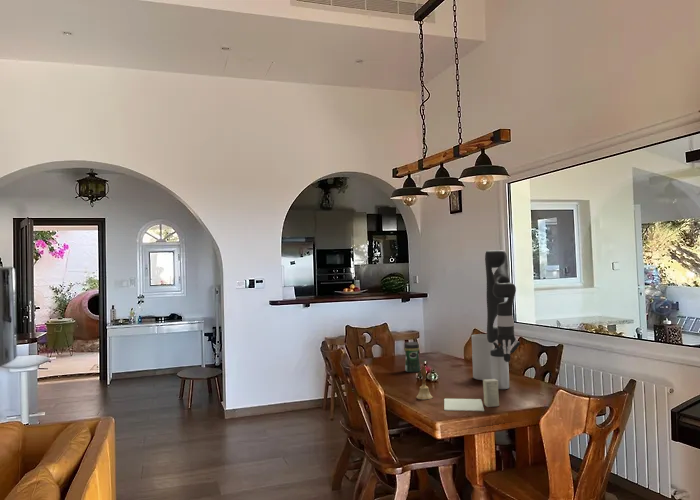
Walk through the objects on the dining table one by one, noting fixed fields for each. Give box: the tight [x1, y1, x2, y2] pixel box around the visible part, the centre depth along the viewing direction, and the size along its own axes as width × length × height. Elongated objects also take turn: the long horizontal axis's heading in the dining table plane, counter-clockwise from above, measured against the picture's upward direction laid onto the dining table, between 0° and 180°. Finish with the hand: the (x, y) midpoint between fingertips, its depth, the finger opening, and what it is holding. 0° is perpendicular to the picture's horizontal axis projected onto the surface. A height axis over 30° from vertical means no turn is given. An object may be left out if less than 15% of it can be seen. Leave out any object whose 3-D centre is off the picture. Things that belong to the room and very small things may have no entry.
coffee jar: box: [403, 341, 421, 373], centre depth 332 cm, size 10×8×19 cm
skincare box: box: [482, 379, 500, 408], centre depth 247 cm, size 6×4×12 cm
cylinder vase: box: [471, 333, 495, 381], centre depth 306 cm, size 12×12×25 cm
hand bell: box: [415, 365, 433, 400], centre depth 265 cm, size 8×8×16 cm
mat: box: [443, 398, 485, 412], centre depth 249 cm, size 20×18×1 cm
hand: (507, 361), depth 246 cm, fingers closed
